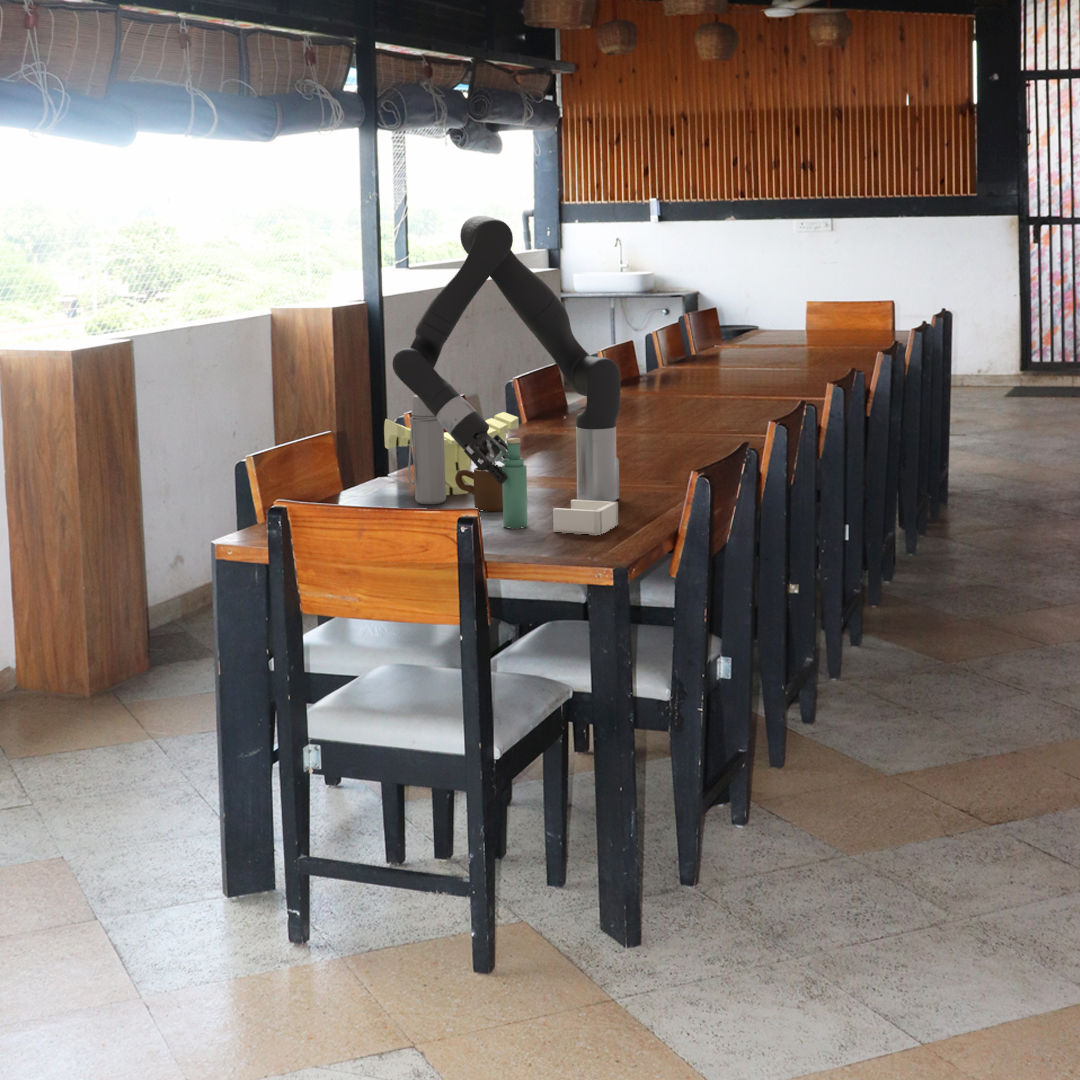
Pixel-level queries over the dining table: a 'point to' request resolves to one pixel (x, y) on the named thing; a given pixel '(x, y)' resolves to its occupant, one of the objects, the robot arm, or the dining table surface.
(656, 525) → the dining table surface
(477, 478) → the mug
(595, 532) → the holder
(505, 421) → the slatted curved stool
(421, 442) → the water bottle
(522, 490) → the green bottle
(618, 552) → the dining table surface
